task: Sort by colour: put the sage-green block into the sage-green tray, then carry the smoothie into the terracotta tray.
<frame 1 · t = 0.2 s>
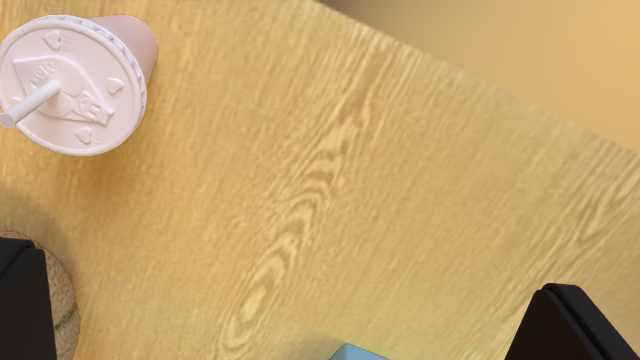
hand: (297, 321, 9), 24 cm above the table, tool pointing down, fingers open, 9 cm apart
smoothie: (128, 45, 30), on the table
cantaloupe: (9, 265, 37), on the table
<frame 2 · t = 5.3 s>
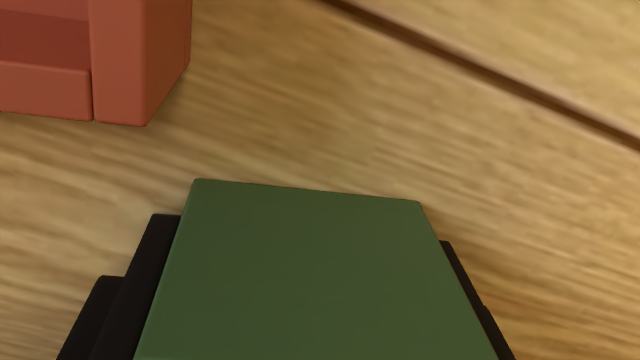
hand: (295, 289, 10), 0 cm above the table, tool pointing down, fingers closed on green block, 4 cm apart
green block: (295, 278, 11), on the table, touching gripper
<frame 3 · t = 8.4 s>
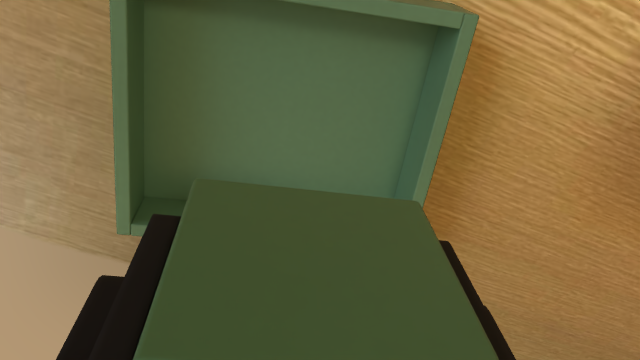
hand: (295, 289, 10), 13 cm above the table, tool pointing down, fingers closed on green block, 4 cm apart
green tray: (283, 108, 22), on the table
green block: (295, 278, 11), point 13 cm above the table, touching gripper
when the fingers open (1 cm above the table, at t = 11.6 s): green block stays where it is, resting on green tray.
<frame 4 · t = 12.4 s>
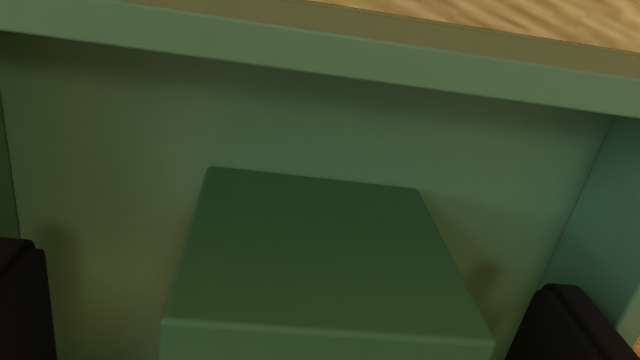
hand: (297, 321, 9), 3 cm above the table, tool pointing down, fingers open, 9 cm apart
green tray: (297, 246, 12), on the table
green block: (300, 262, 11), point 1 cm above the table, touching green tray
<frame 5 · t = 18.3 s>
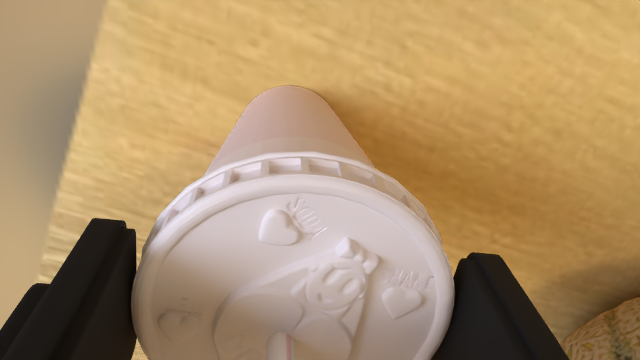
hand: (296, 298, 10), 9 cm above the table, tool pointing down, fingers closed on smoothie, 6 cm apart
smoothie: (288, 132, 18), on the table, touching gripper
cantaloupe: (619, 339, 25), on the table
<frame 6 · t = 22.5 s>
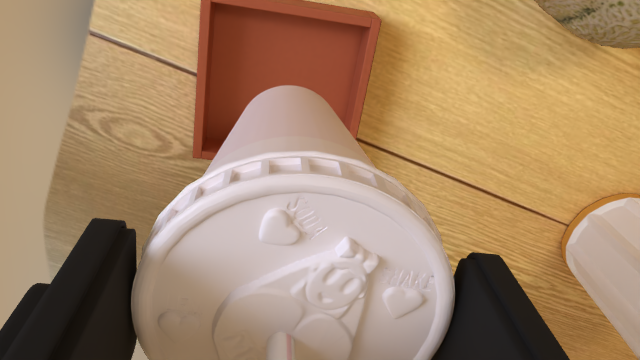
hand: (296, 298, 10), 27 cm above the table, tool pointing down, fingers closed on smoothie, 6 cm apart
smoothie: (288, 131, 18), point 18 cm above the table, touching gripper
terracotta tray: (282, 79, 35), on the table
cup: (609, 235, 44), on the table
when the fingers open (10 cm above the table, at t = 27.1 s): smoothie stays where it is, resting on terracotta tray.
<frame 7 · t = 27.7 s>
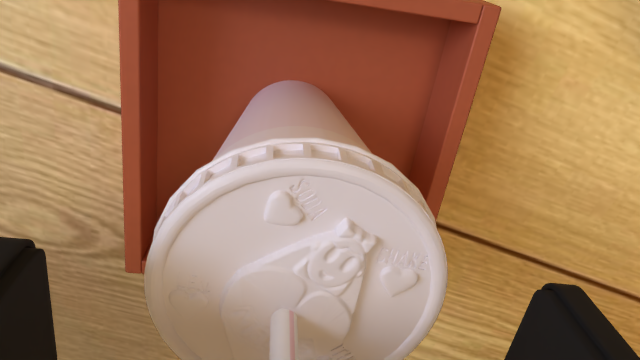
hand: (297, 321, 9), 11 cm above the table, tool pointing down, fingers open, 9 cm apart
smoothie: (291, 125, 19), resting on terracotta tray
terracotta tray: (292, 121, 19), on the table
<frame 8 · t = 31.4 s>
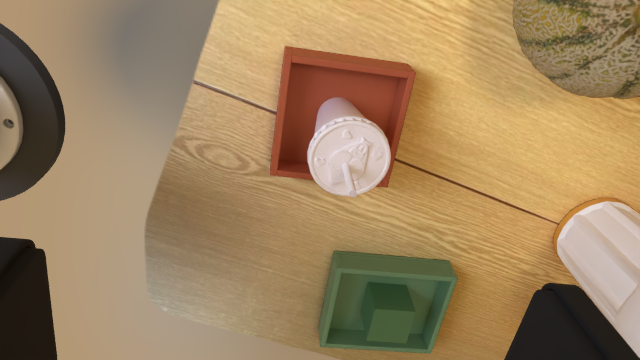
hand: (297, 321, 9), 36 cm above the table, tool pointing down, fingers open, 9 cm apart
smoothie: (336, 115, 46), resting on terracotta tray
terracotta tray: (336, 114, 46), on the table
cup: (592, 231, 55), on the table
green tray: (381, 294, 57), on the table
green block: (383, 298, 56), point 1 cm above the table, touching green tray
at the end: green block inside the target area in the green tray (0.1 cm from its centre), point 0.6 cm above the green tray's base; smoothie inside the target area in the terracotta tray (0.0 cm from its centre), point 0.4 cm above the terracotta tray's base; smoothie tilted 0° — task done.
